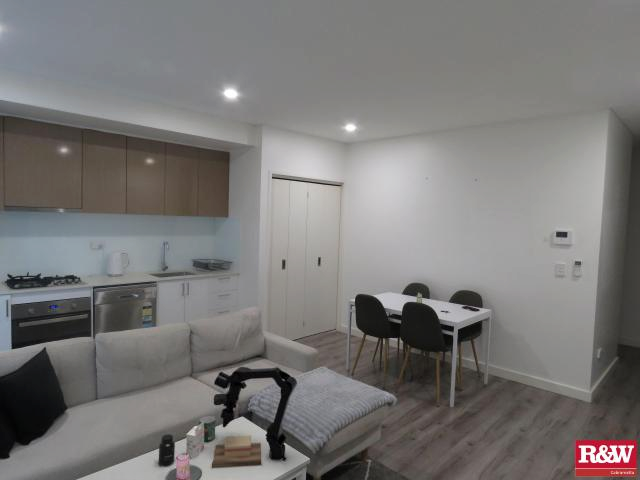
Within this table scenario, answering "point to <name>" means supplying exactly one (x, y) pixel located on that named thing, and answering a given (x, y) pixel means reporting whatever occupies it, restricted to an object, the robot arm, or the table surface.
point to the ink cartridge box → (195, 440)
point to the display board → (237, 461)
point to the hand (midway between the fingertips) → (224, 421)
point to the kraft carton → (237, 446)
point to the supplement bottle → (166, 450)
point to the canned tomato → (208, 427)
